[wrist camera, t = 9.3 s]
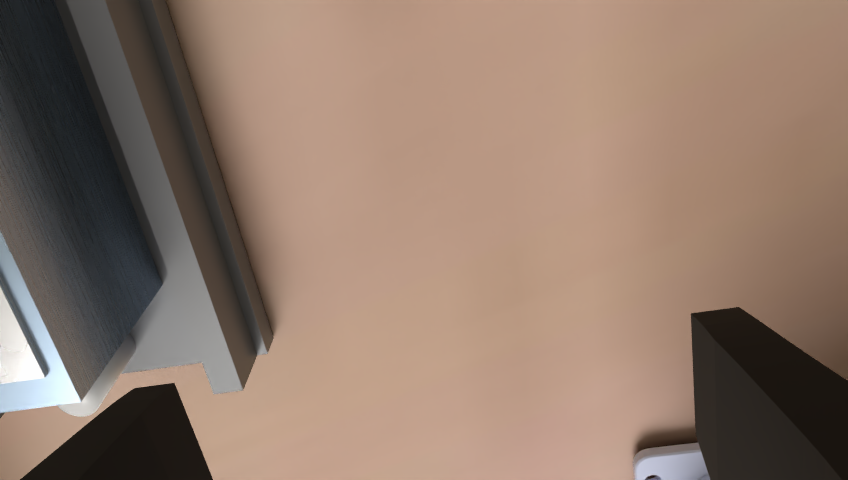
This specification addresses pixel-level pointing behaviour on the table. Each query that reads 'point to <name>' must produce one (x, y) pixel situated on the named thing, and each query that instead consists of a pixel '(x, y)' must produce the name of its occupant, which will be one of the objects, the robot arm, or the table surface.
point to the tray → (168, 200)
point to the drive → (59, 221)
